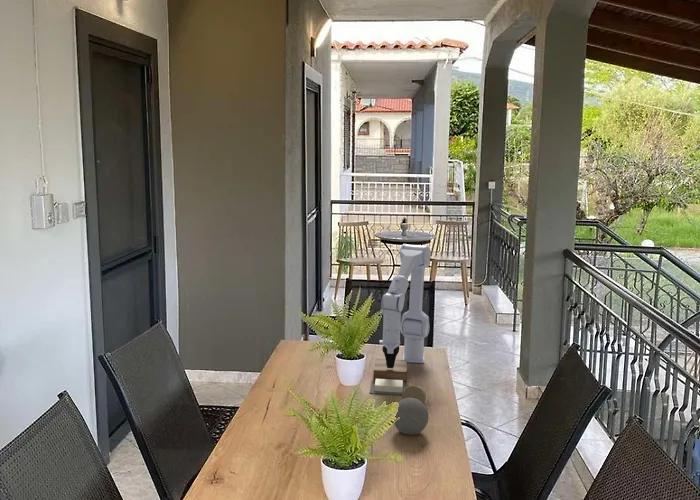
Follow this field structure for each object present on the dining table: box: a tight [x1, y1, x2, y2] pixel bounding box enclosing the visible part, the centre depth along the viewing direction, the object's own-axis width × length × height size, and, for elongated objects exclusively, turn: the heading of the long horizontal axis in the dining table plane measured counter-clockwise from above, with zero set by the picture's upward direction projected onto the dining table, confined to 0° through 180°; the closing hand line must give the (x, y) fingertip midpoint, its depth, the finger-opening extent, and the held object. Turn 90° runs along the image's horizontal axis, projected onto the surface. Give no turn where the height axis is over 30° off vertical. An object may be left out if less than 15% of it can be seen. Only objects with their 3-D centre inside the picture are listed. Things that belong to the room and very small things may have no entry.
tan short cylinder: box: [401, 384, 427, 405], centre depth 202 cm, size 8×10×10 cm
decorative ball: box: [393, 398, 429, 436], centre depth 182 cm, size 10×10×10 cm
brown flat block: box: [372, 358, 408, 383], centre depth 226 cm, size 12×11×4 cm
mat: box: [369, 380, 408, 397], centre depth 215 cm, size 11×12×1 cm
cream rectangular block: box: [375, 379, 403, 393], centre depth 214 cm, size 6×9×2 cm, turn 85°
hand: (390, 367), depth 221 cm, fingers closed
